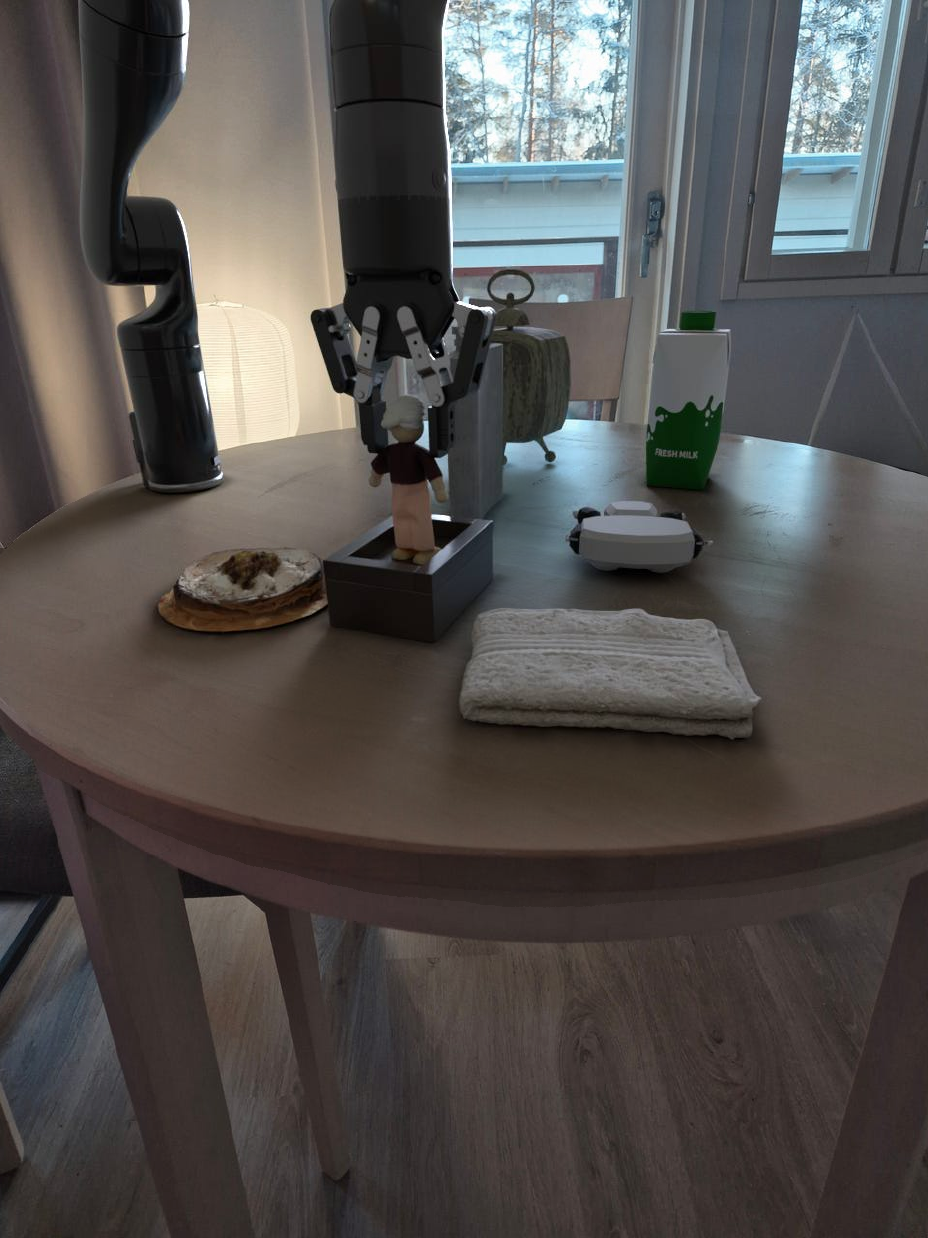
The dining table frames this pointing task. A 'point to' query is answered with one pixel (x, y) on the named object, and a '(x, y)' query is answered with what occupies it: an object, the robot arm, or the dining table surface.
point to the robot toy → (634, 537)
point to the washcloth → (606, 673)
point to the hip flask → (477, 440)
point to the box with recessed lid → (409, 579)
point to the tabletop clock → (530, 373)
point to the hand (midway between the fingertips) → (408, 452)
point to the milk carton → (687, 401)
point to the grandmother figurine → (409, 480)
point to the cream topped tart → (246, 590)
